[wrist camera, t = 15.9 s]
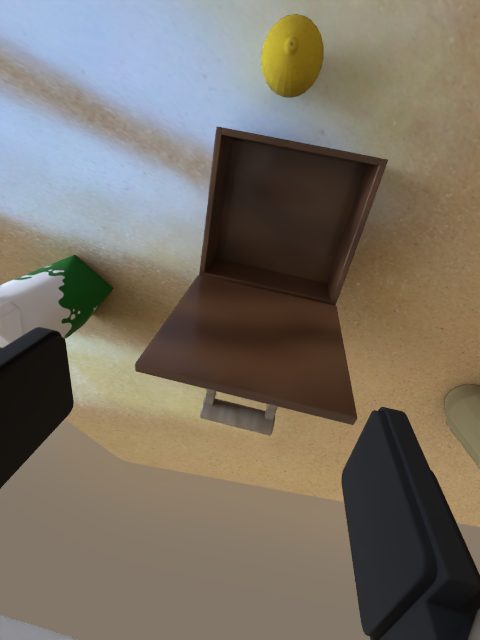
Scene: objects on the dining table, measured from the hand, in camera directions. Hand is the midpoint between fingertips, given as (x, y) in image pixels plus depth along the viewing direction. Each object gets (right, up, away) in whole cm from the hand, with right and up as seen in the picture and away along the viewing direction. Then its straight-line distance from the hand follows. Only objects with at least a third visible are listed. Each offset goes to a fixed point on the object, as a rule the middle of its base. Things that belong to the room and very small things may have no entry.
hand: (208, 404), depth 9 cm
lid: (+3, +2, +19) cm, 19 cm away
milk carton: (-23, +8, +38) cm, 45 cm away
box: (+6, +15, +28) cm, 33 cm away
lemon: (+6, +28, +22) cm, 36 cm away
